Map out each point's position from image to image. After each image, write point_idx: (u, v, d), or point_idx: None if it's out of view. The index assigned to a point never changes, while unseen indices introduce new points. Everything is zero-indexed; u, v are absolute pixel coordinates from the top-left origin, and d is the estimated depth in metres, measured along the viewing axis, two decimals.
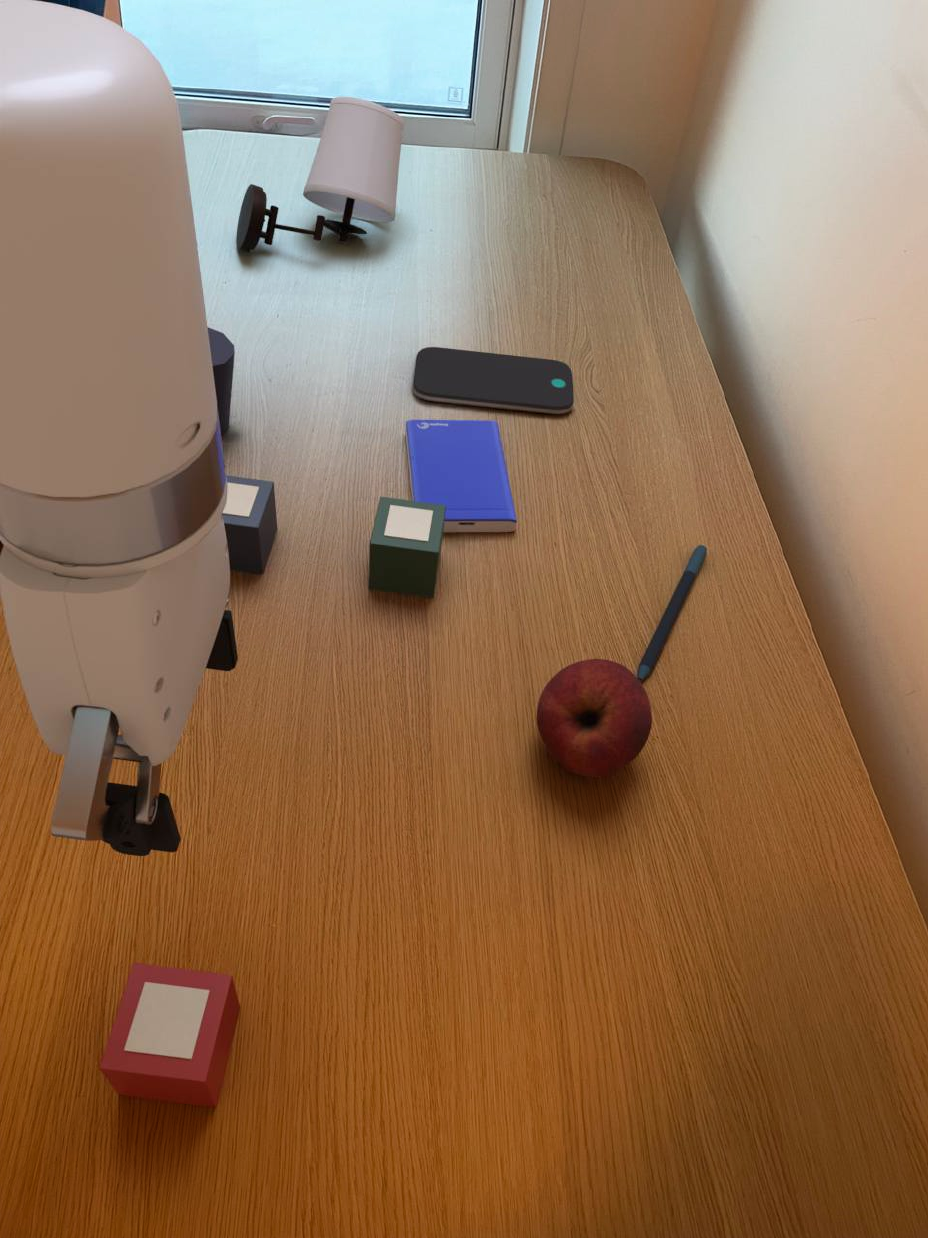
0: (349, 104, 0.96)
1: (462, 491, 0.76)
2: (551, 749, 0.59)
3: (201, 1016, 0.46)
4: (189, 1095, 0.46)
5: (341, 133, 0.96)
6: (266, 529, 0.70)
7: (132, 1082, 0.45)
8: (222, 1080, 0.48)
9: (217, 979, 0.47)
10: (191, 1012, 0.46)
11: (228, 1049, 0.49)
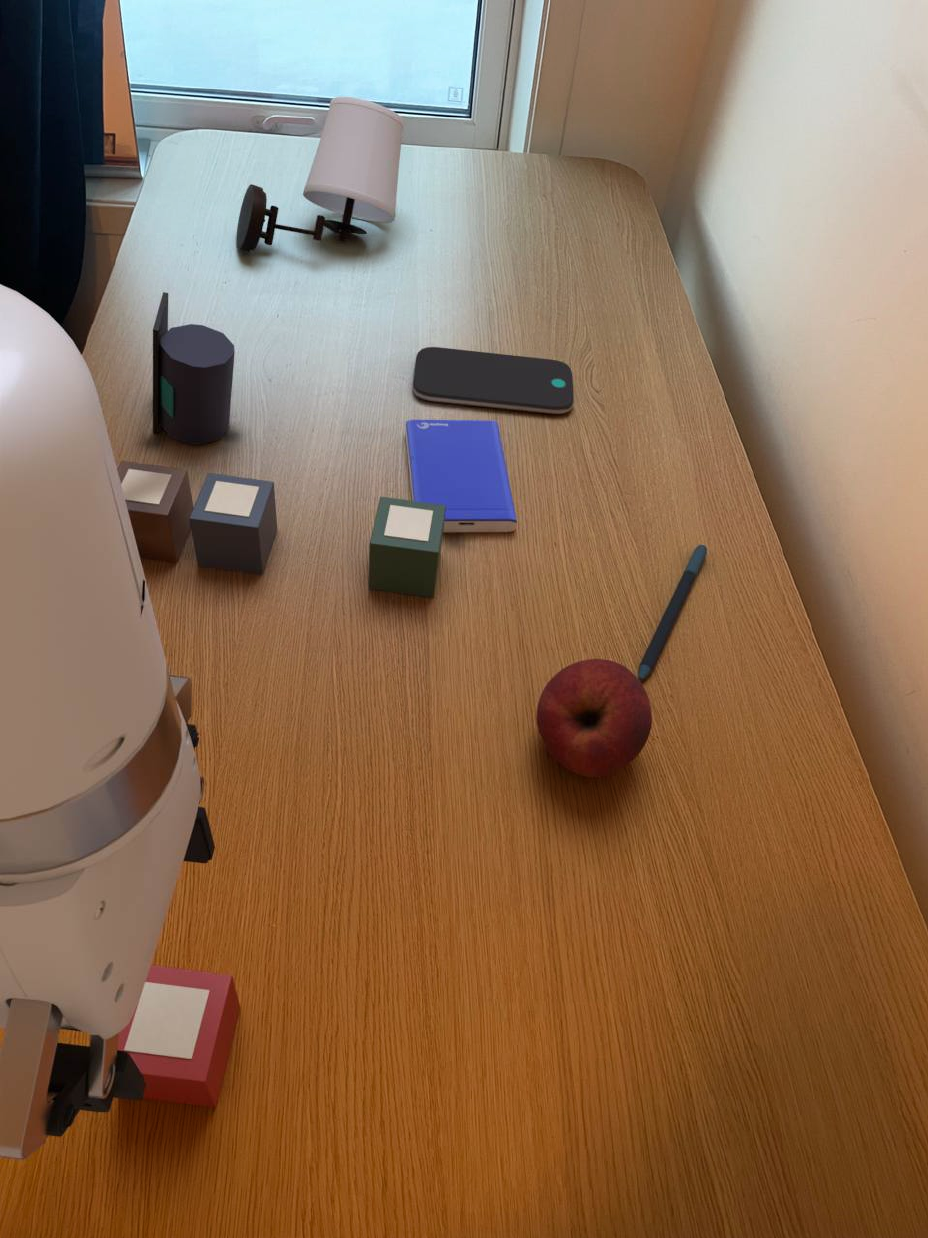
0: (349, 104, 0.96)
1: (462, 491, 0.76)
2: (551, 749, 0.59)
3: (201, 1016, 0.46)
4: (189, 1095, 0.46)
5: (341, 133, 0.96)
6: (266, 529, 0.70)
7: None
8: (222, 1080, 0.48)
9: (217, 979, 0.47)
10: (191, 1012, 0.46)
11: (228, 1049, 0.49)
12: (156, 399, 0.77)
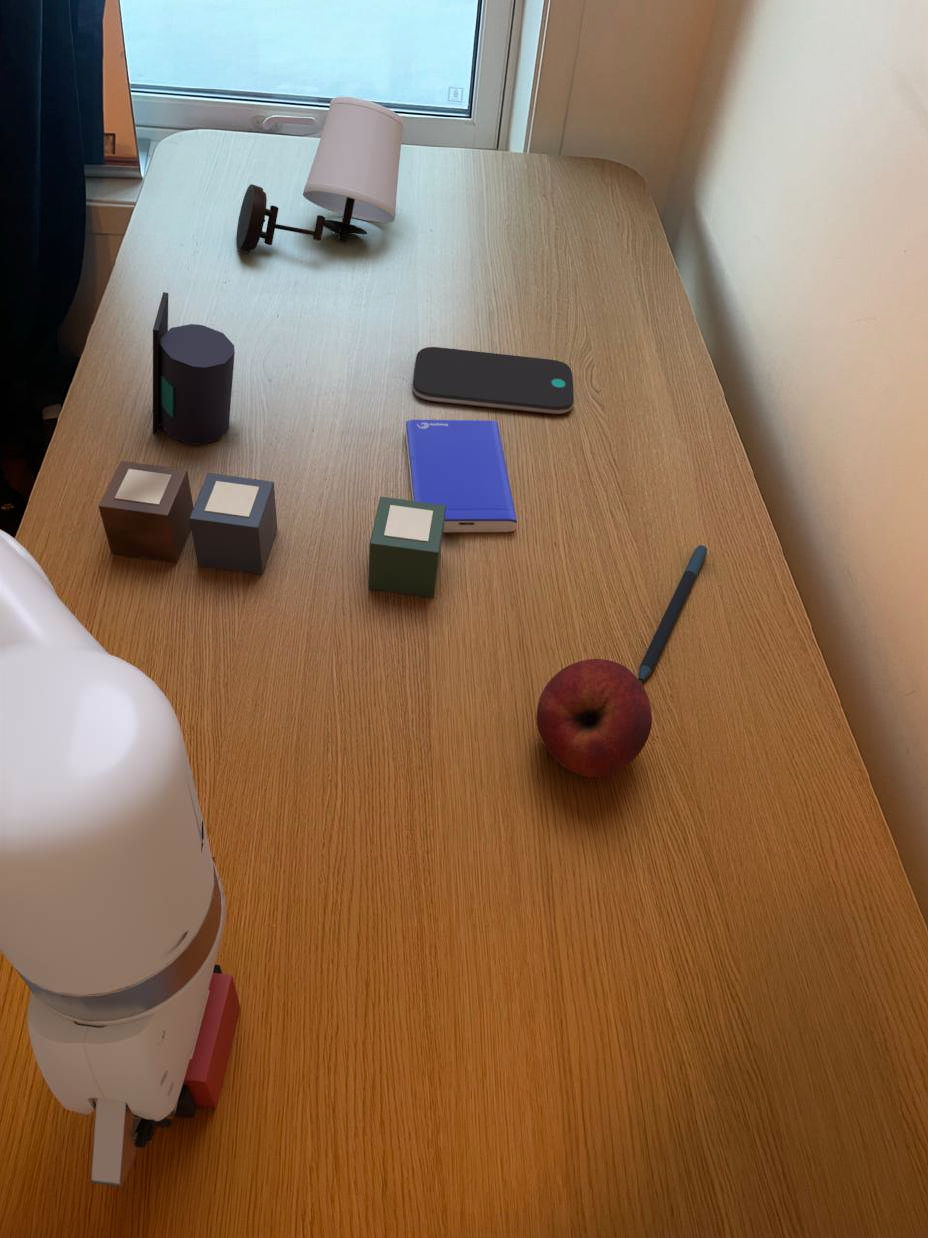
0: (349, 104, 0.96)
1: (462, 491, 0.76)
2: (551, 749, 0.59)
3: (201, 1016, 0.46)
4: None
5: (341, 133, 0.96)
6: (266, 529, 0.70)
7: None
8: (222, 1080, 0.48)
9: (217, 979, 0.47)
10: None
11: (228, 1049, 0.49)
12: (156, 399, 0.77)
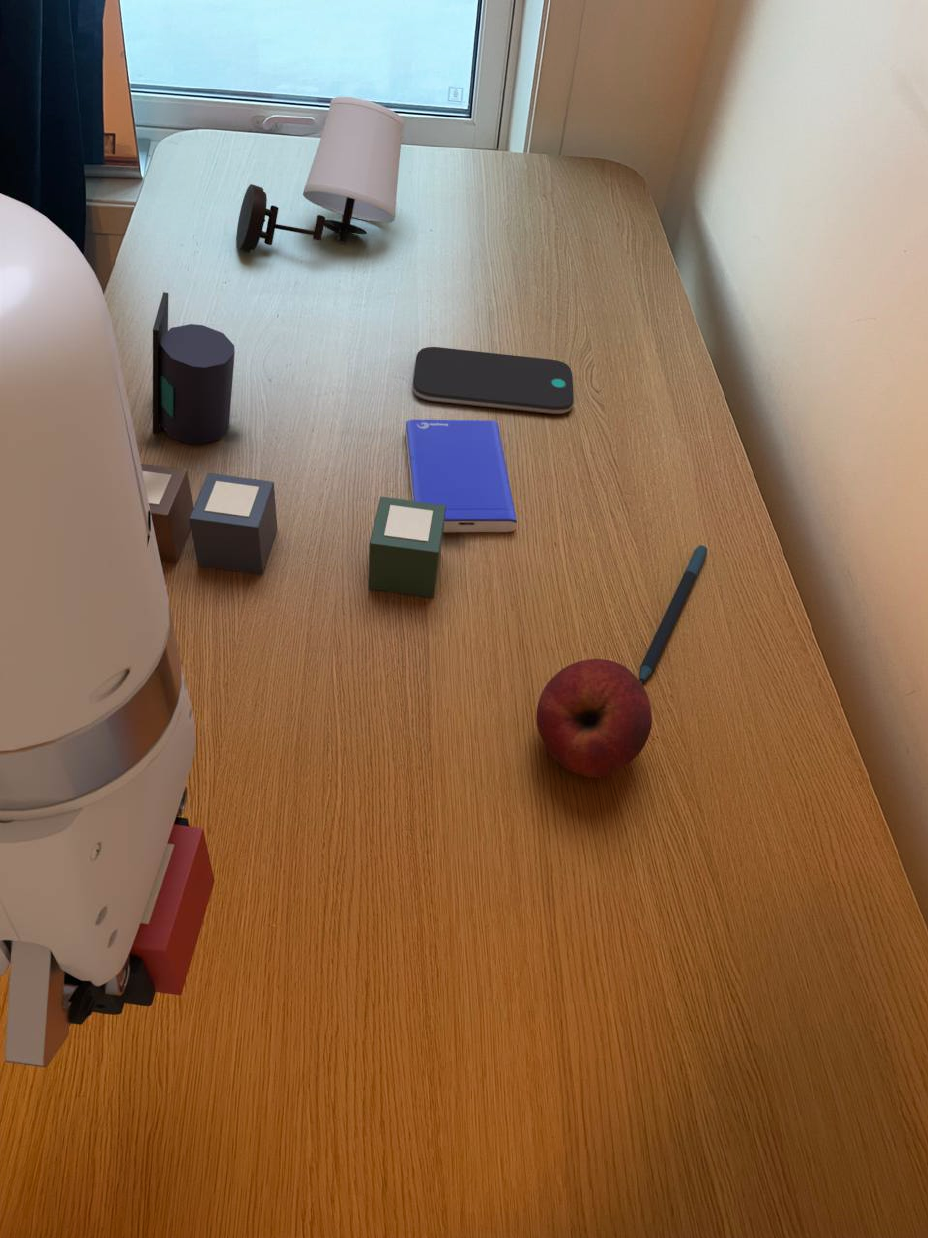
0: (349, 104, 0.96)
1: (462, 491, 0.76)
2: (551, 749, 0.59)
3: (162, 874, 0.36)
4: None
5: (341, 133, 0.96)
6: (266, 529, 0.70)
7: None
8: (189, 963, 0.39)
9: (184, 832, 0.37)
10: None
11: (198, 926, 0.39)
12: (156, 399, 0.77)
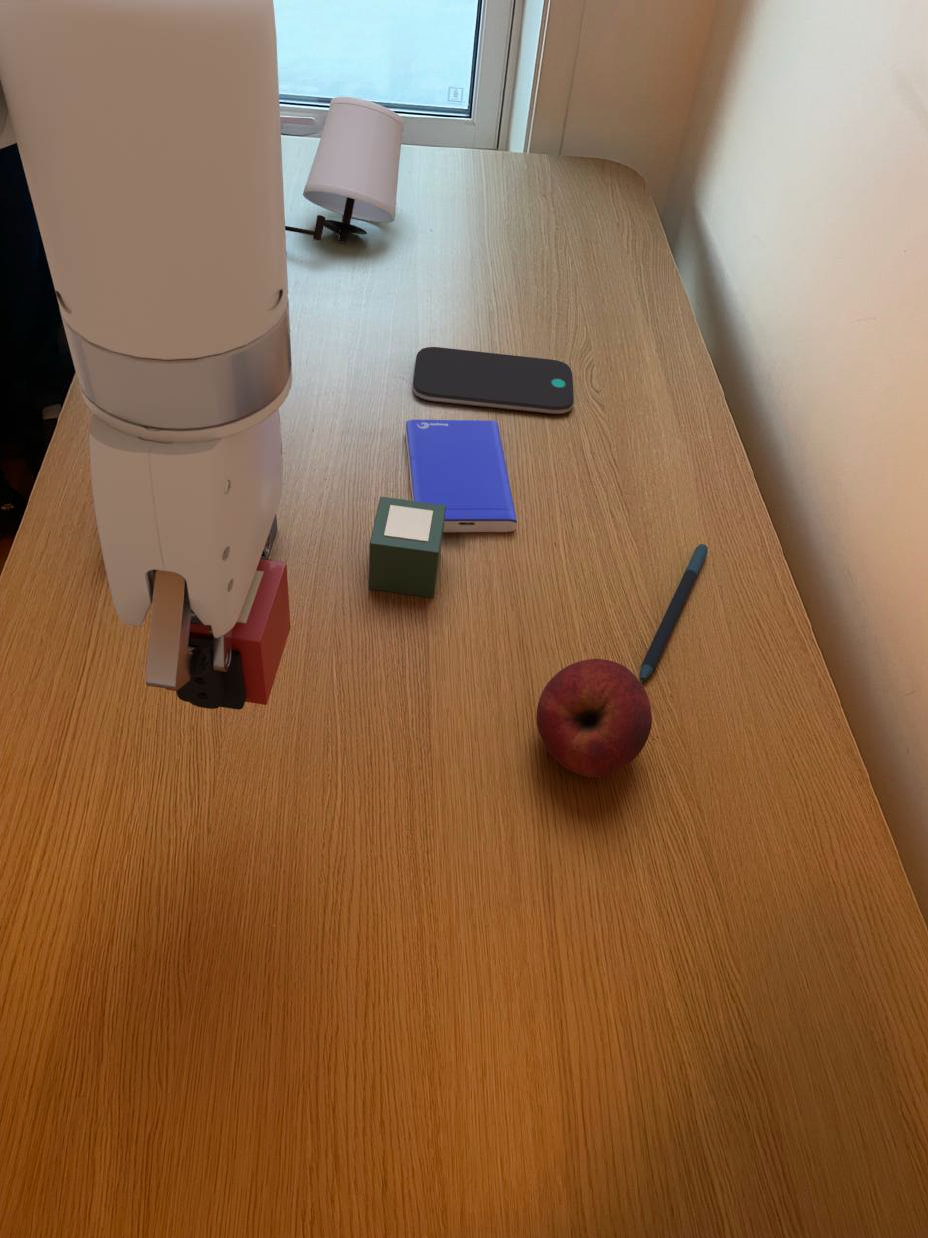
0: (349, 104, 0.96)
1: (462, 491, 0.76)
2: (551, 749, 0.59)
3: (255, 591, 0.44)
4: None
5: (341, 133, 0.96)
6: None
7: None
8: (273, 682, 0.46)
9: (271, 564, 0.45)
10: None
11: (279, 654, 0.47)
12: None
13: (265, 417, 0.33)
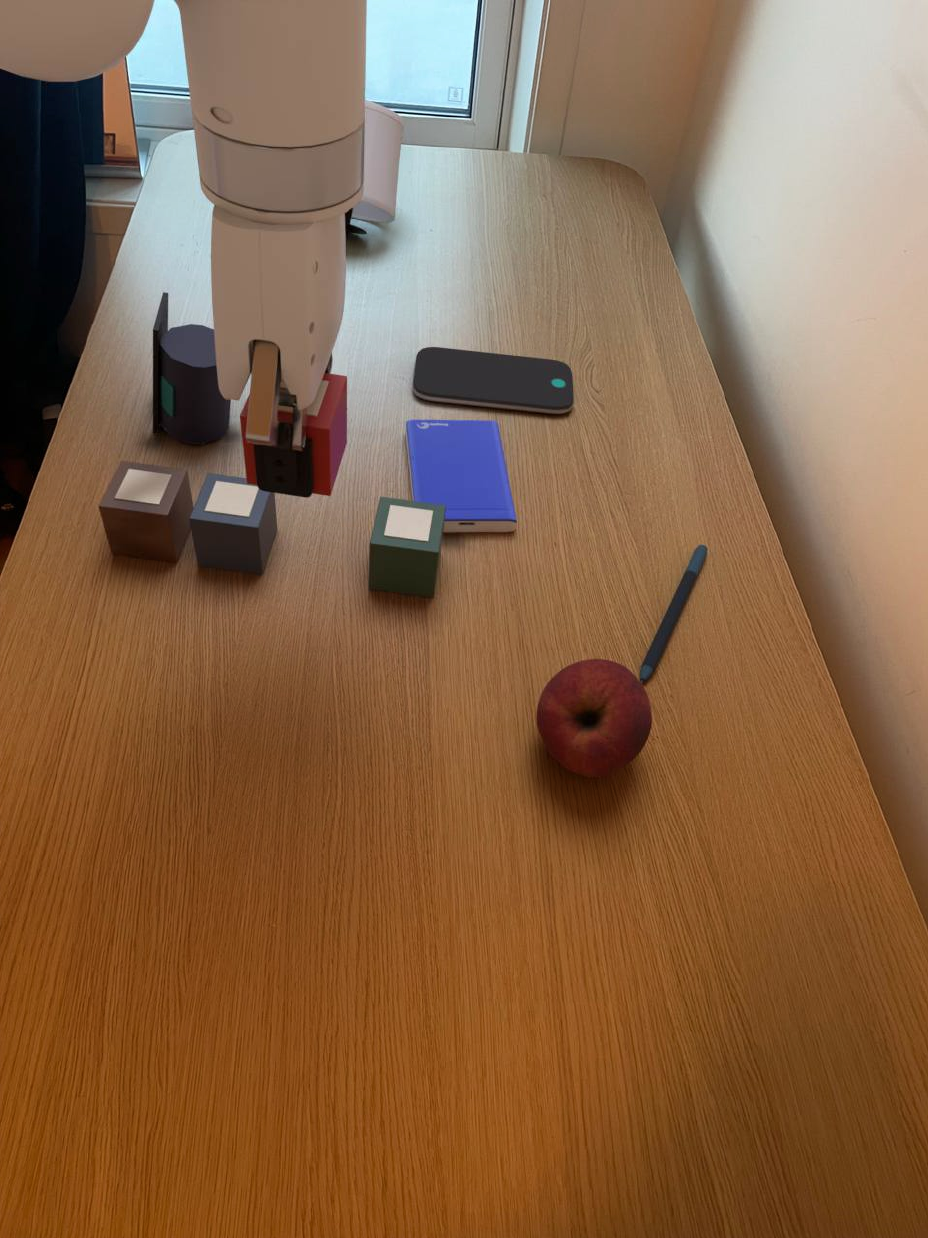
0: None
1: (462, 491, 0.76)
2: (551, 749, 0.59)
3: (323, 395, 0.53)
4: None
5: None
6: (266, 529, 0.70)
7: None
8: (334, 479, 0.56)
9: (334, 376, 0.54)
10: None
11: (339, 458, 0.56)
12: (156, 399, 0.77)
13: (346, 210, 0.43)
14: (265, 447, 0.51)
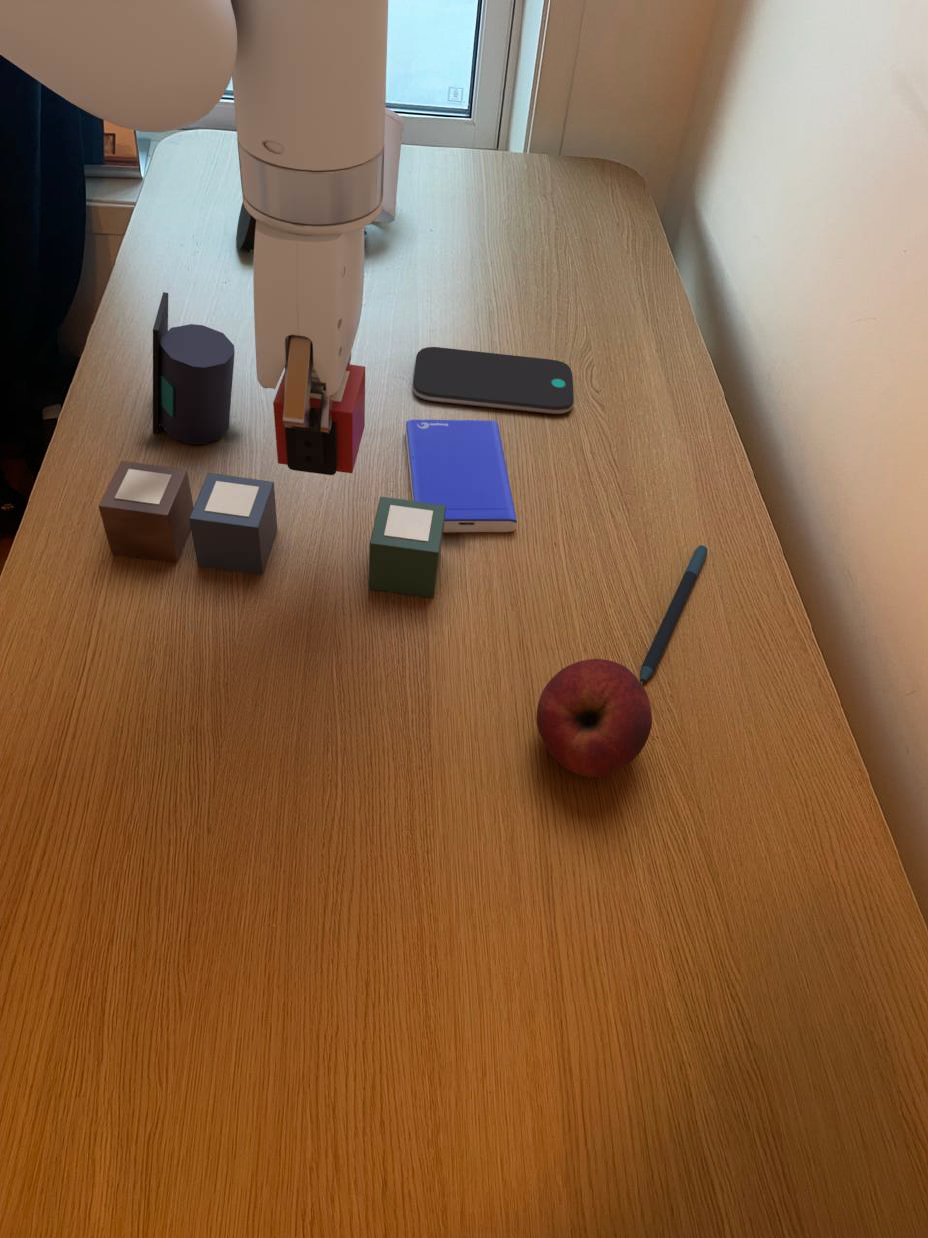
0: None
1: (462, 491, 0.76)
2: (551, 749, 0.59)
3: (345, 383, 0.60)
4: None
5: None
6: (266, 529, 0.70)
7: None
8: (355, 459, 0.63)
9: (354, 367, 0.61)
10: None
11: (359, 440, 0.63)
12: (156, 399, 0.77)
13: (369, 222, 0.50)
14: (296, 430, 0.58)
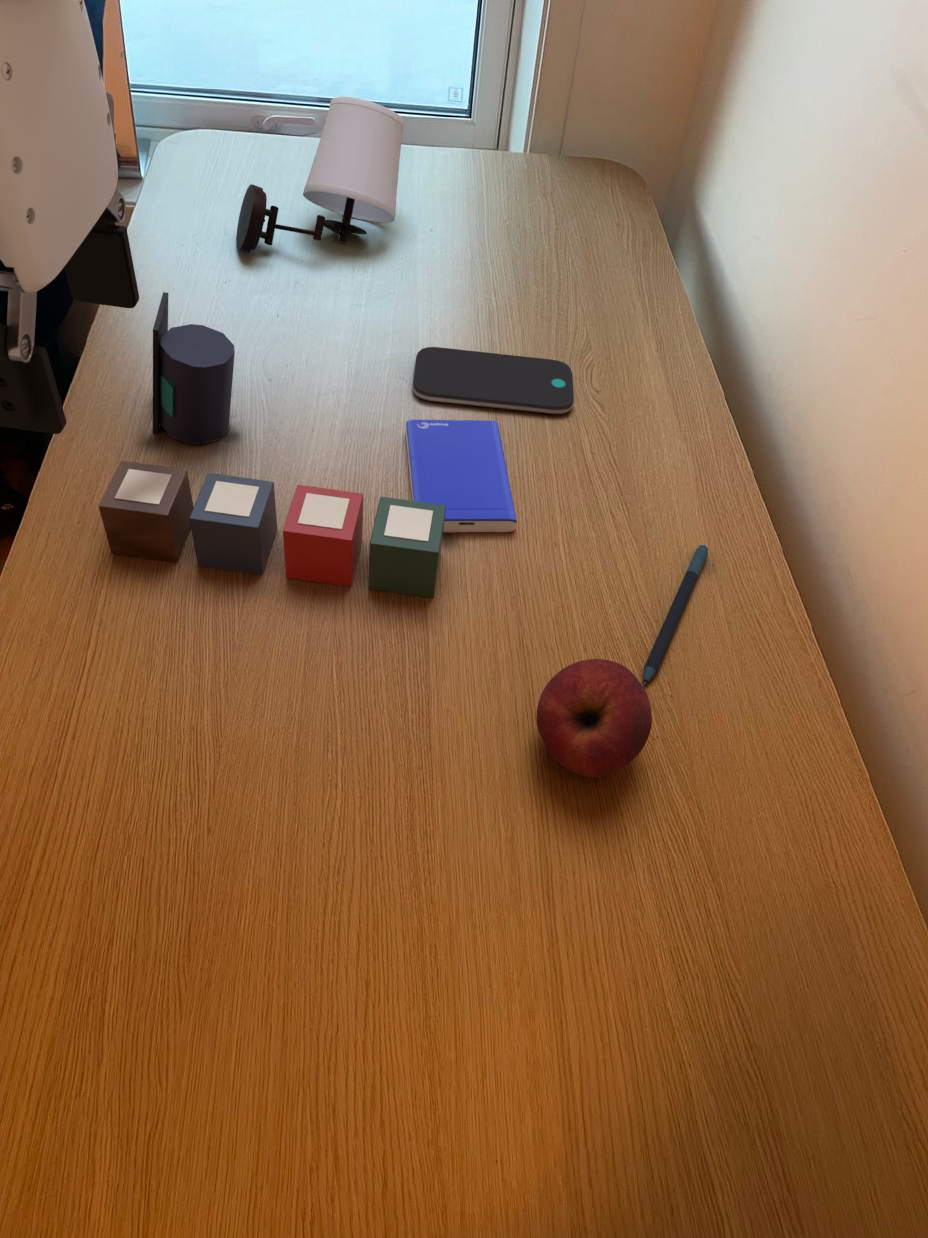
0: (349, 104, 0.96)
1: (462, 491, 0.76)
2: (551, 749, 0.59)
3: (345, 511, 0.69)
4: (336, 567, 0.69)
5: (341, 133, 0.96)
6: (266, 529, 0.70)
7: (301, 551, 0.68)
8: (354, 572, 0.71)
9: (353, 494, 0.70)
10: (338, 508, 0.69)
11: (357, 555, 0.72)
12: (156, 399, 0.77)
13: None
14: None
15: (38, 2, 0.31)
